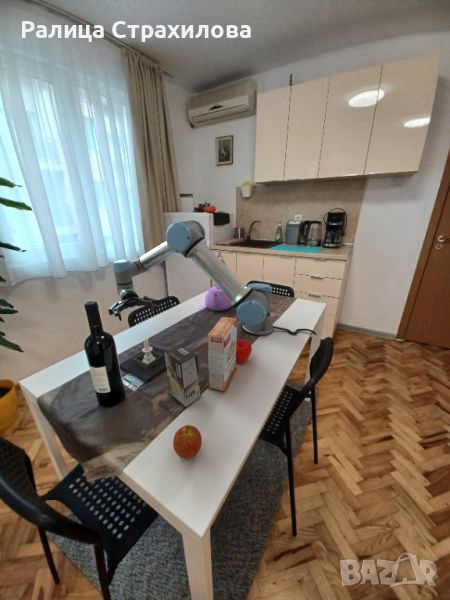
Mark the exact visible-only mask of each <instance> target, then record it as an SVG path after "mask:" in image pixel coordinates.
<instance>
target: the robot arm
mask: <svg viewBox="0 0 450 600" xmlns="http://www.w3.org/2000/svg"><path fill="white" fill-rule="evenodd" d="M177 254H181V255H182V256H183V257H184V258H185V259H186V260H192V261H193V262H194V263H195V264H196V266H197V267H199V269H200V270H201V271H202V272H203V273H204V274H205V275H206V276H207V277H208V278H209V279H210V280H211V281H212V282H213V283H214V284H215V286H216V285H217V286H218V287H219V288H220V289H221V290H222V291H223V292H224V293H225V294H226V295H227V296H228V297H229V299H230V300H231V307H232V308H233V309H234V310H235V311H236V318H237V320H238V321H239V322H240V323H241V324H242V331H243V332H245V333H246V334H248V335H251V336H266V335H269V334H271V333H273V329H276V330H281V331H286V332H288V333H289V334H291V335H296V334H298V332H302V331H305V332H310V333H312V334H313V335H315V336H317V335H318V334H317V332H315V331H314V330H312V329H310V328H297V329H296V330H295V331H292V330H290V329H288V328H286V327H280V326H274V324H273V321H272V316H271V308H272V294H273V287H272V285H270V284H267V283H259V282H258V283H257V282H253V283H248V284H247V286H246V285H245V283H243V282H242V281H241V279H240V278H239V277H238V276H237V275H236V274H235V273H233V271H232V270H231V269H230V268H229V267H228V266H227V265H226V264H225V263H224V262H223V261H222V260H221V259H220V258H219V257H218V255H216V253H214V251H213V250H212V249H211V248H210V247H209V246H208V245H207V239H206V230H205V228H204V226H203V224H201V223H200V222H199V221H197V220H194V219H190V220H184V221H181V220H180V221H176V222H173V223H171V224H170V225H169V226H168V227H167V229H166V231H165V241H164V242H162V243H161V244H160V245H157V246H156V247H154V248H153V249H151V250H150V251H148V252H146V253H145V254H143V255H141V256H140V257H138V258H137V259H134V260H132V261H129V260H128V259H118V260H114V262H113V263H112V267H113V272H114V277H115V278H114V279H115V283H116V284H115V285H116V291H117V292H116V293H117V295H118V296H119V299H120V301H118V300H115V301H114V303H113V304H112V305H111V306H110V307H109V308H108V309H107V311H108V315H109V316H113V315H114V317H115V318H116V317H118V320H119V322H122V320H123V319H122V314H121V313H122V312H123V311H124V310H127V309H129V308H134V307H150V308H151V310H152V312H153V313H154V314H157V309H158V307H159V299H156V298H153V297H149V296H147V295H144V296H143V297H140V296H139V295H138V294H137V292H136V290H135V288H134V283H133V278H134V277H136V276H138V275H141V274H144V273H146V272H148V271H149V270H150V269H152V268H154V267H155V266H158V265H159V264H161V263H162V262H164V261H166V260H168V259H169V258H172V257H174V256H175V255H177Z"/></svg>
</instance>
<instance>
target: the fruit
mask: <svg viewBox="0 0 450 600" xmlns="http://www.w3.org/2000/svg"><path fill="white" fill-rule="evenodd" d="M202 442H203V438H202V434H201V432H200V430H199V428H197V427H196V426H195V425H191V424H186V425H183V426H181V427H180V428H178V429H177V431H176V432H175V434H174V436H173V440H172V443H173V444H172V445H173V450H174V452H175V454H176V455H177V456H178V457H179V458H182V459H192V458H194V457H195V456H196V455H197V454H198V453H199V452H200V450H201V448H202Z"/></svg>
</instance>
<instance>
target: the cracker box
mask: <svg viewBox="0 0 450 600" xmlns="http://www.w3.org/2000/svg"><path fill="white" fill-rule="evenodd" d="M237 331H238V318H234V317H228V316H227V317H226V316H222V317H220V319H219V320H218V321H217V322H216V324H215V325H214V327H212V329H211V330H210V332H209V333H208V334H207V352H208V353H207V354H208V355H207V357H208V361H207V363H208V387H209V389H213V390H217V391H221V392H225V390H226V388H227V386H228V385H229V381H230V380H231V377H232V376H233V373H234V371H235V369H236V340H237V337H238V336H237V334H238V333H237Z"/></svg>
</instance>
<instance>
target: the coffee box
mask: <svg viewBox="0 0 450 600" xmlns="http://www.w3.org/2000/svg"><path fill="white" fill-rule="evenodd" d="M164 353H165V360H166V374H167V375H166V376H167V383H168V391H169V394H170V395H171V396H172V397H174V398H175V399H176V400H177V401H178V402H179V403H181V404H182V405H183V406H184V407H186V408H187V407H188V406H190V405H191V404H192V403H194V402H195V401H196V400H198V399H200V397H201V388H200V387H201V386H200V373H199V372H200V370H199V356H198V354H197V353H195V352H194V351H192V350H191V349H189V348H187V347H185V346H184V345H182V344H180V343H179V344H177V345H175V346H173V347H170V348H169V349H167V350H166V351H165V352H164Z"/></svg>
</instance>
